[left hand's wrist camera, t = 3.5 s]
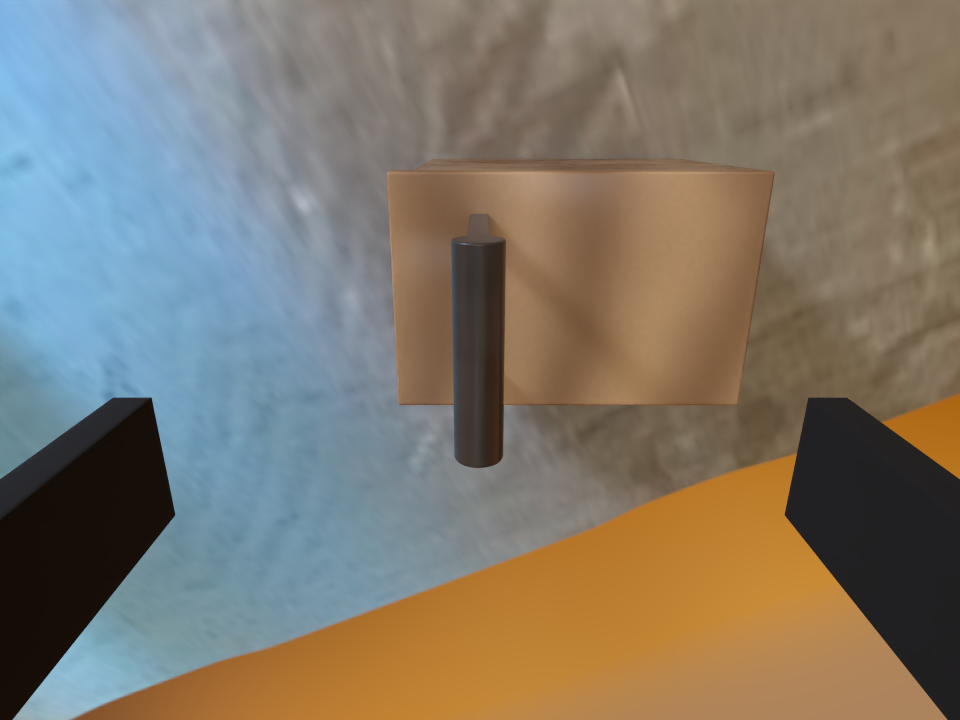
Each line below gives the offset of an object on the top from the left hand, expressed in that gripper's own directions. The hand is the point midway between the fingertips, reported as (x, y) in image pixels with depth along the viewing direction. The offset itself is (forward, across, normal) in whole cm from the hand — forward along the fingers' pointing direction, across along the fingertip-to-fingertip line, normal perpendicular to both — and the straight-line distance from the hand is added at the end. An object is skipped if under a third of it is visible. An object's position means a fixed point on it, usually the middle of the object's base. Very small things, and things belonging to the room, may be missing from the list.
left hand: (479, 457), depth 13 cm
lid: (+14, -4, 0) cm, 15 cm away
